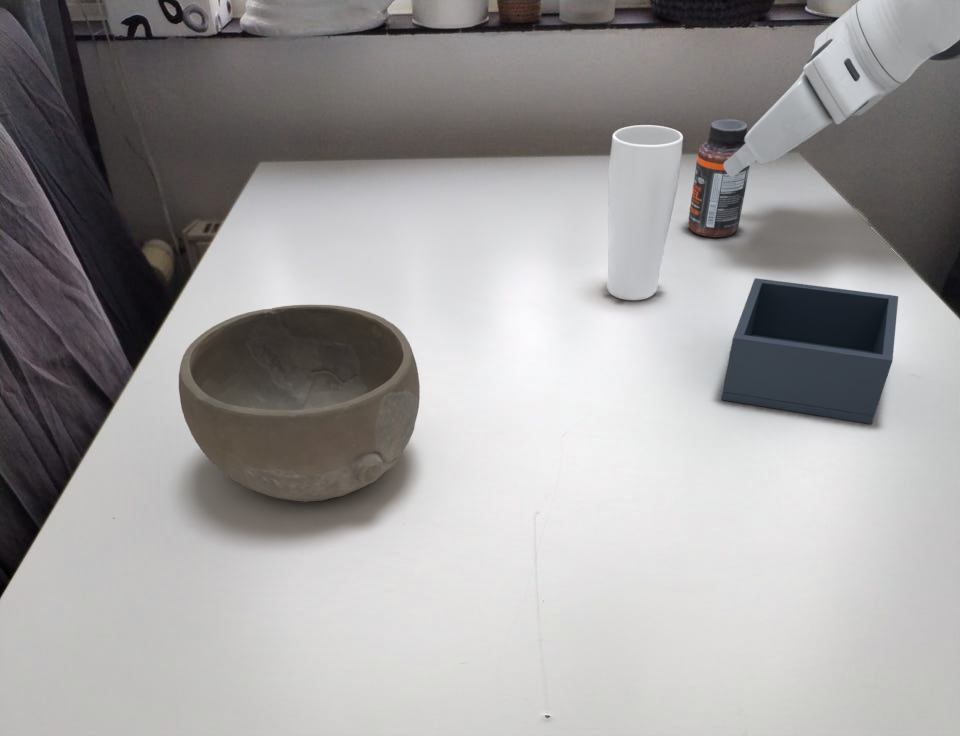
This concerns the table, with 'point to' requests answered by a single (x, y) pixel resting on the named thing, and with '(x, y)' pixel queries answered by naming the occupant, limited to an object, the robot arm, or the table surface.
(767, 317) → the bin
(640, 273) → the drinking glass
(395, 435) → the bowl
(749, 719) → the table surface
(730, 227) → the supplement bottle
